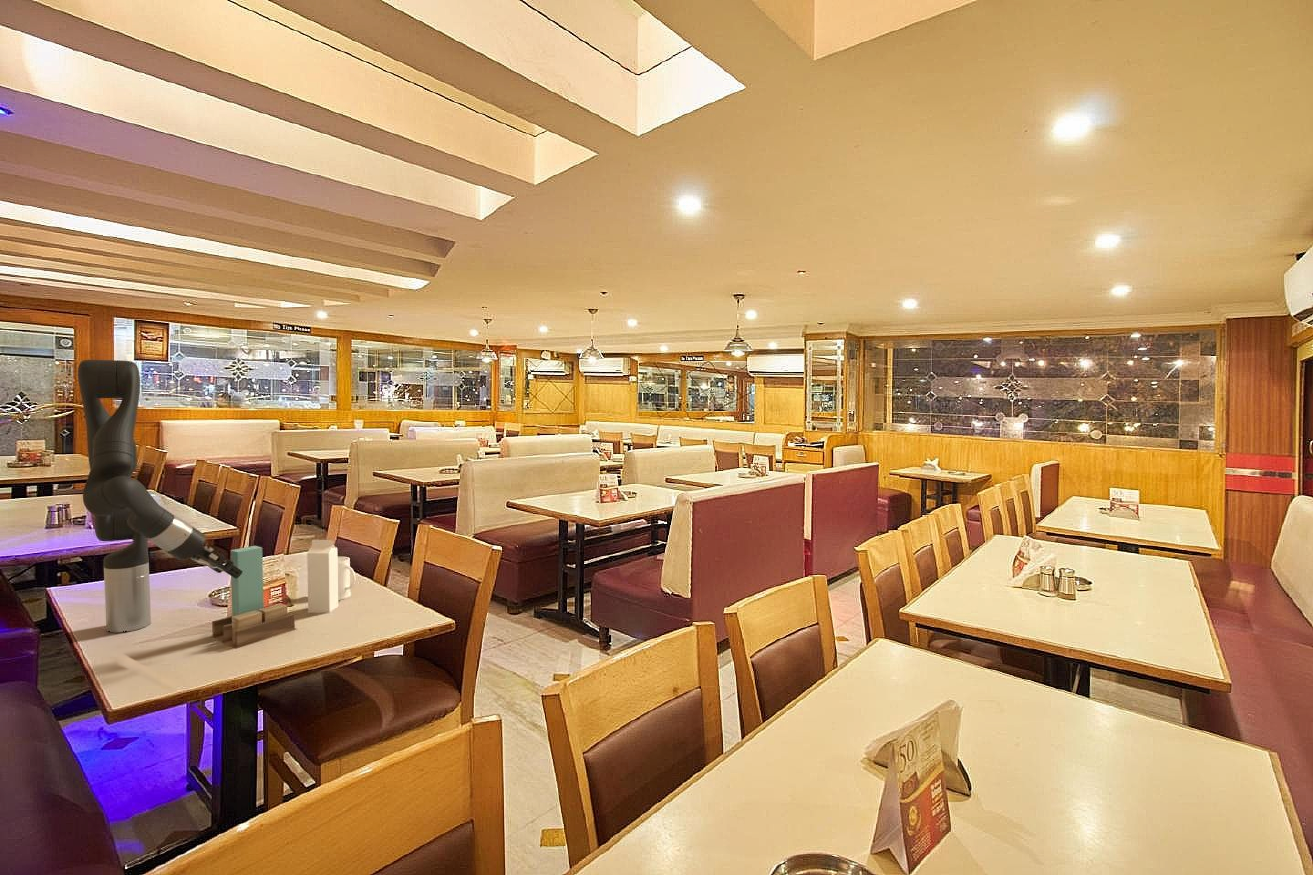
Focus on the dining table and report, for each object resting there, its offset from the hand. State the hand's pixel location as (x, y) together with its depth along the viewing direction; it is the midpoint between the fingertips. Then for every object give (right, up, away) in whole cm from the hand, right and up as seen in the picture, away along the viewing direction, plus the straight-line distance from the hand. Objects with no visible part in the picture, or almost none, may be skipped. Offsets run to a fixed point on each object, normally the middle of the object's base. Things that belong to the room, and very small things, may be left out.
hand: (230, 572), depth 158 cm
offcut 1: (+5, -17, -1) cm, 18 cm away
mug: (+10, -16, +36) cm, 40 cm away
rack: (+4, -18, +3) cm, 19 cm away
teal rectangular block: (+1, -16, +5) cm, 17 cm away
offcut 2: (+8, -17, +4) cm, 19 cm away
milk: (+12, -17, +22) cm, 30 cm away
